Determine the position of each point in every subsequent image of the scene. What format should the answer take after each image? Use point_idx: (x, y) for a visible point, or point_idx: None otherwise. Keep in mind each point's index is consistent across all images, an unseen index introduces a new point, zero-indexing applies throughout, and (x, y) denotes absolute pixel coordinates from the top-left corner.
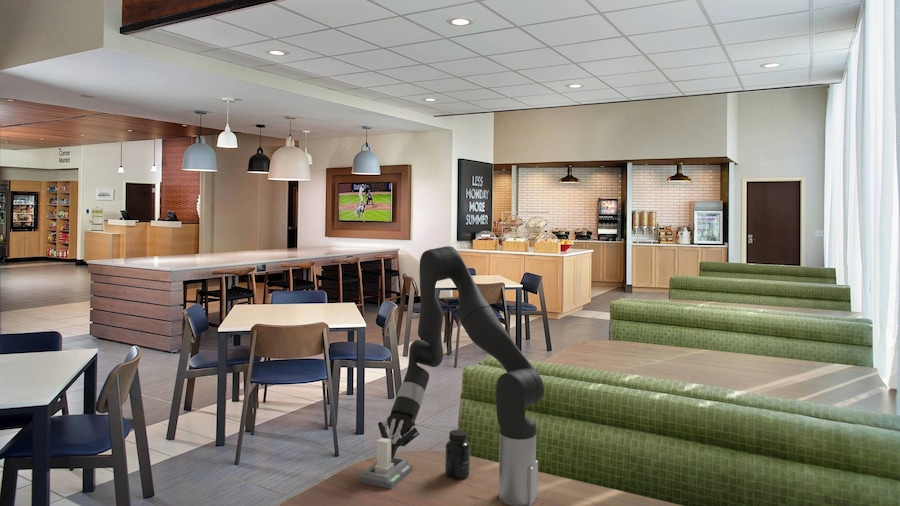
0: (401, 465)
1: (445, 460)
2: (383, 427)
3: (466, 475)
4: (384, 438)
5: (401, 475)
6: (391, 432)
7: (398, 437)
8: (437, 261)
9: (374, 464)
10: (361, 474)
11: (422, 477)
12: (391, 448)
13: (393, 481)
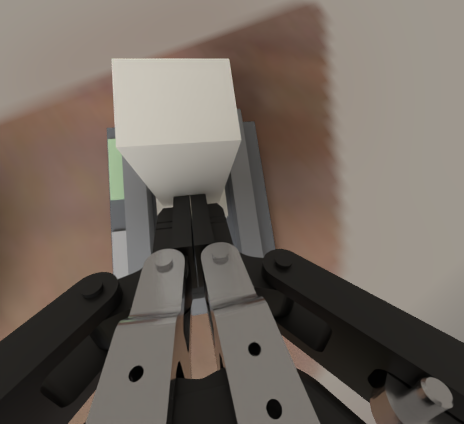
0: (127, 247)
1: None
2: (403, 364)
3: None
4: (200, 134)
5: (111, 211)
6: (232, 317)
7: (131, 315)
8: None
9: (245, 186)
10: (256, 137)
11: (46, 284)
12: (172, 225)
13: (109, 146)
